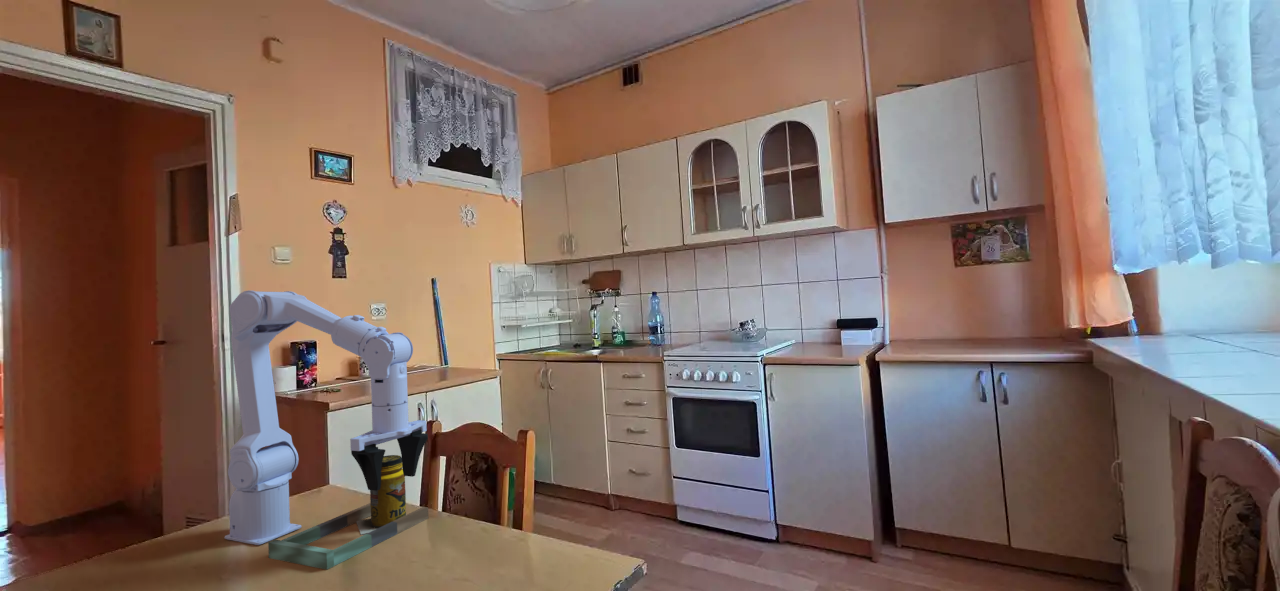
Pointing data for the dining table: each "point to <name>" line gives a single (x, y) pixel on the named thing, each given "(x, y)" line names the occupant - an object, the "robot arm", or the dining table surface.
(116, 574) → the dining table surface
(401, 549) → the dining table surface
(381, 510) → the condiment
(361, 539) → the u-shaped frame
